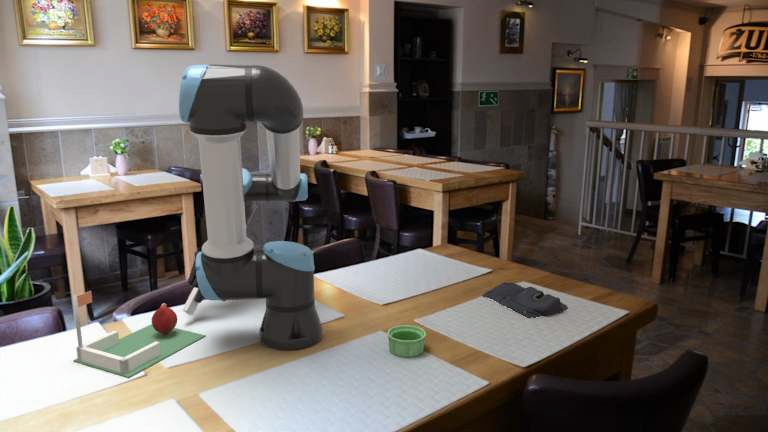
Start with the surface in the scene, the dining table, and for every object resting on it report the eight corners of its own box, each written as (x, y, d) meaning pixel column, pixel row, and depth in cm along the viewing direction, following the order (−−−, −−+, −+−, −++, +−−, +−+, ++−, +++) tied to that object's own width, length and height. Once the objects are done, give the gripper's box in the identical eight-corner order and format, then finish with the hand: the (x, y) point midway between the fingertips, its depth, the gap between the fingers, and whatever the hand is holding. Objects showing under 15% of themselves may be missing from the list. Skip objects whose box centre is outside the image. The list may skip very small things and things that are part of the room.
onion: (169, 340, 138) (167, 309, 136) (148, 338, 139) (145, 307, 137) (182, 330, 143) (180, 300, 142) (161, 328, 145) (159, 298, 143)
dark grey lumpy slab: (516, 288, 178) (517, 273, 177) (572, 311, 160) (573, 295, 159) (477, 297, 170) (478, 281, 169) (532, 322, 152) (533, 305, 151)
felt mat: (205, 336, 141) (205, 335, 141) (128, 378, 121) (128, 376, 121) (154, 324, 148) (154, 322, 148) (73, 361, 128) (73, 360, 128)
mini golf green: (160, 354, 131) (155, 292, 127) (124, 374, 122) (117, 307, 119) (115, 342, 137) (109, 282, 133) (77, 360, 128) (70, 296, 125)
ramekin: (398, 362, 129) (399, 344, 128) (380, 346, 137) (380, 329, 136) (432, 354, 133) (433, 336, 132) (413, 339, 141) (413, 322, 140)
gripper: (253, 244, 159) (215, 323, 148) (216, 238, 164) (176, 314, 153) (239, 230, 153) (199, 310, 142) (201, 224, 158) (159, 302, 147)
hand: (187, 312), depth 148 cm, fingers closed
